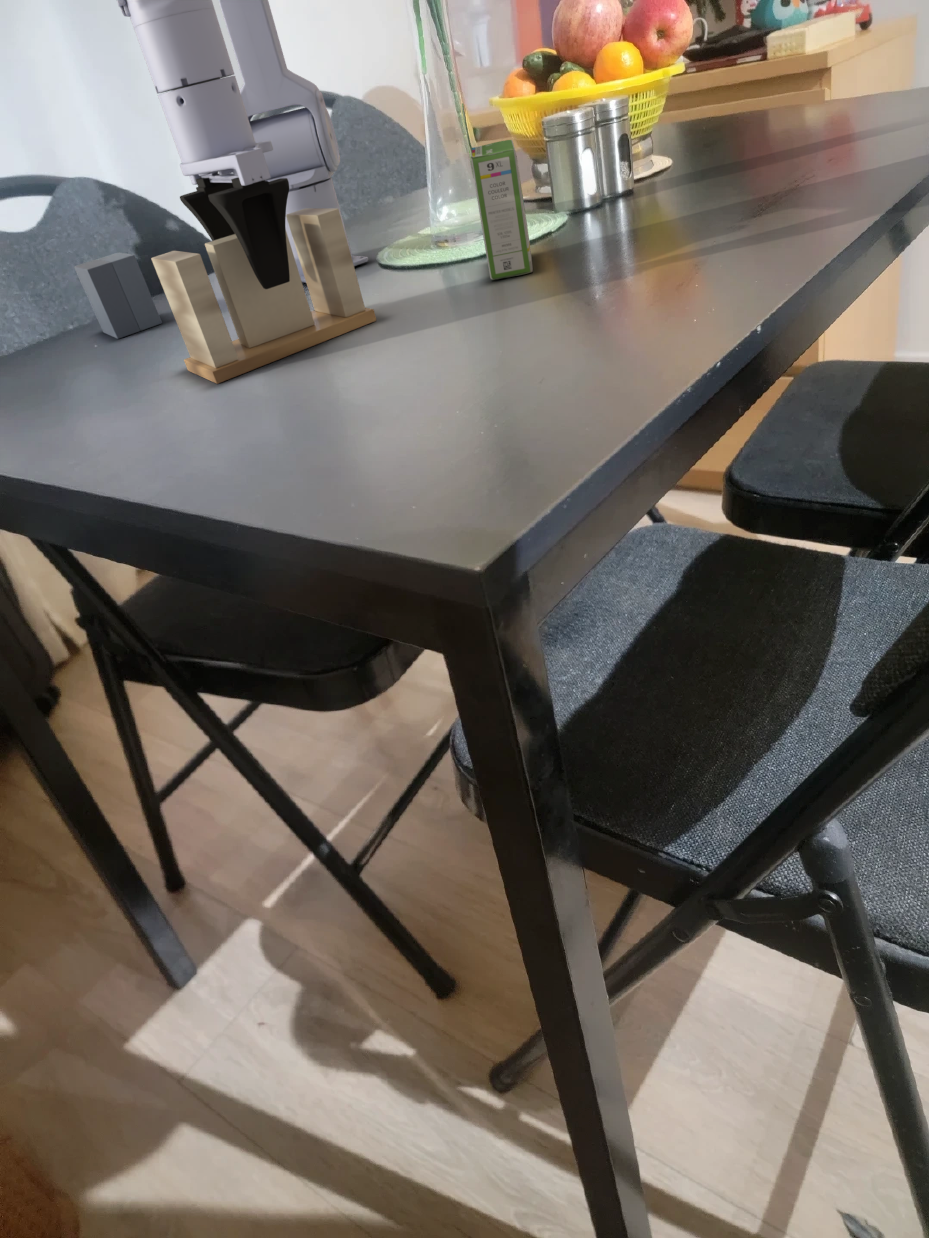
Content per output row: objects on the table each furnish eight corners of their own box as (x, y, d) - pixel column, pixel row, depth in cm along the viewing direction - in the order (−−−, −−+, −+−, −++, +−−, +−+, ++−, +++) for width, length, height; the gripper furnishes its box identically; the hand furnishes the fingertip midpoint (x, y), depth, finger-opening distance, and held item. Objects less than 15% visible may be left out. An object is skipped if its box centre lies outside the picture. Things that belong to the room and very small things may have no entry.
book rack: (187, 371, 70) (142, 259, 64) (339, 312, 75) (308, 206, 70) (217, 384, 64) (170, 264, 59) (376, 320, 70) (347, 206, 65)
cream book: (249, 348, 67) (212, 245, 63) (240, 344, 69) (204, 243, 65) (315, 325, 69) (284, 223, 65) (304, 321, 71) (273, 222, 67)
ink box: (535, 273, 72) (508, 96, 65) (490, 282, 73) (458, 108, 65) (531, 255, 78) (506, 91, 70) (490, 264, 78) (461, 102, 71)
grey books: (103, 332, 90) (73, 266, 86) (146, 317, 92) (118, 252, 88) (117, 339, 86) (86, 269, 82) (162, 323, 88) (134, 254, 84)
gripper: (280, 62, 55) (339, 273, 63) (220, 82, 66) (276, 259, 74) (180, 86, 53) (254, 302, 60) (135, 102, 64) (202, 283, 71)
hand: (261, 280), depth 67 cm, fingers open, 7 cm apart
